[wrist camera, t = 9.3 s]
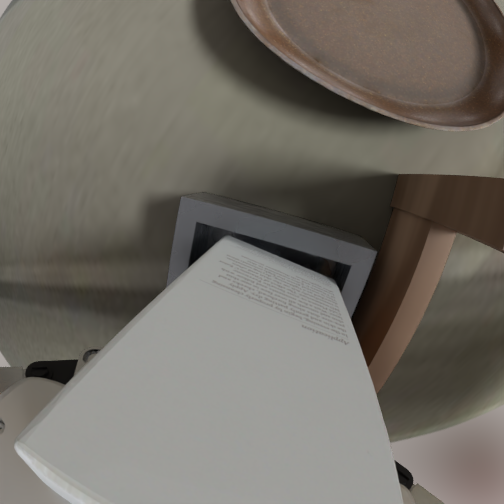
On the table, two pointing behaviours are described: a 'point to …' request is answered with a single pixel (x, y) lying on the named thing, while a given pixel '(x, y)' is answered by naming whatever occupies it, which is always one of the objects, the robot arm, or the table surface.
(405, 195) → the brown l-shaped wood piece
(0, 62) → the table surface
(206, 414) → the small box
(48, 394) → the robot arm
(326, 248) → the gray square tray
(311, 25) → the plant saucer
